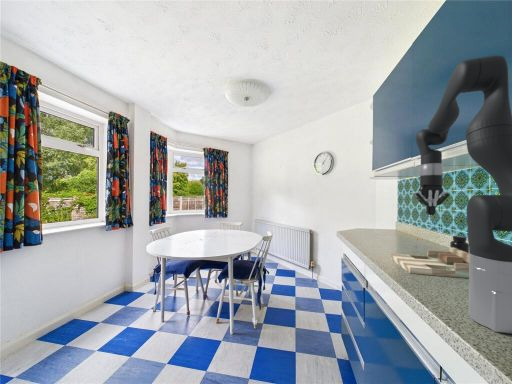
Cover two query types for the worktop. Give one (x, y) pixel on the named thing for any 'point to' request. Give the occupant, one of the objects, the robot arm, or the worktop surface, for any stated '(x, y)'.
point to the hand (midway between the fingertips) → (430, 214)
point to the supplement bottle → (460, 243)
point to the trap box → (434, 264)
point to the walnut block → (449, 258)
